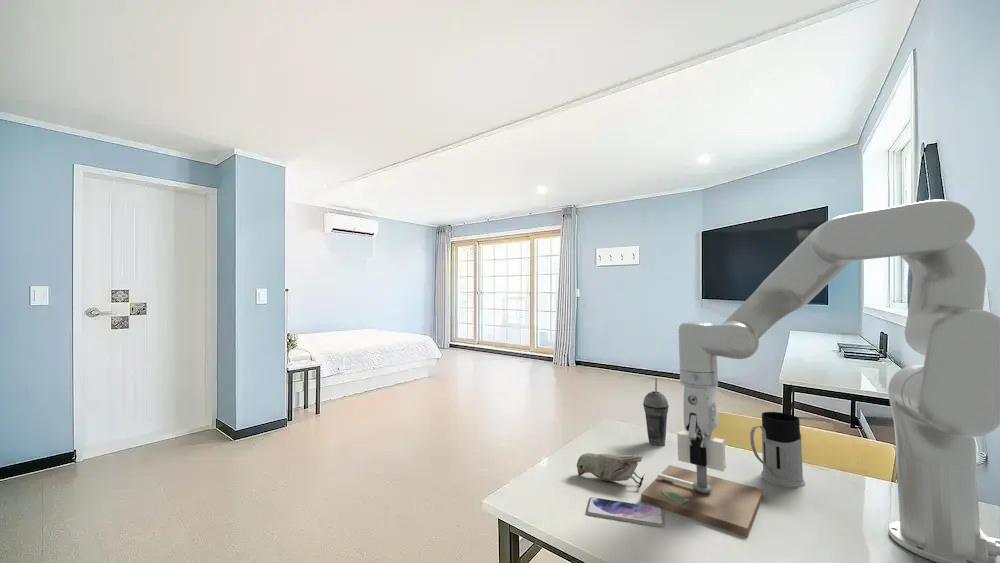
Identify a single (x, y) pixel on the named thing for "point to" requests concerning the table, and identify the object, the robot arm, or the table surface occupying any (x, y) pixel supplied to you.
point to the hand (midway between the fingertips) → (701, 460)
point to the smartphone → (625, 512)
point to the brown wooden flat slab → (706, 500)
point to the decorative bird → (609, 466)
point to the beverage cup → (656, 417)
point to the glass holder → (780, 449)
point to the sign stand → (714, 461)
